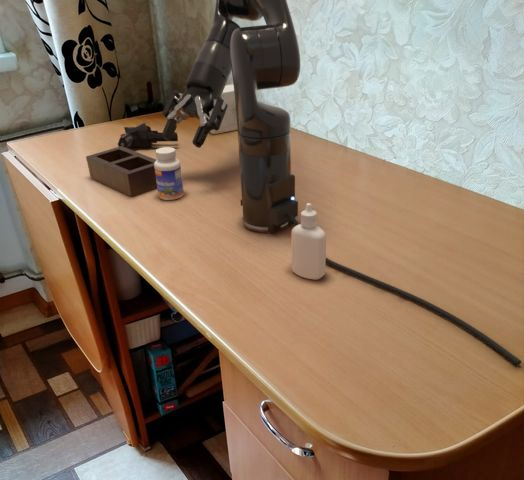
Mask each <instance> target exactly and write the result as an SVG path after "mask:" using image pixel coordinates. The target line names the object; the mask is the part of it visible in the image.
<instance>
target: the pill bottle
mask: <svg viewBox="0 0 524 480" xmlns="http://www.w3.org/2000/svg"><path fill="white" fill-rule="evenodd" d="M176 156H177V153H176V149H175V148H174V147H171V146H164V147H163V146H162V147H159V148H157V149H156V150H155V157H156V158H155V159H156V161H155V163H154V169H155V175H156V182H157V188H156V190H157V195H158V197H159V199H161V200H163V201H164V200H165V201H174V200H178V199H180V198H182V197H183V196H184V184H183V175H182V167H181V162H180V159H178V158H176Z"/></svg>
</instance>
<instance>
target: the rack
mask: <svg viewBox="0 0 524 480" xmlns="http://www.w3.org/2000/svg"><path fill="white" fill-rule="evenodd" d="M85 159H86V163H87V168H88V171H89V172H88V173H89V177H90V179H92V180H95V181H96V182H99V183H101V184H103V185H105V186H107V187H109V188H111V189H114V190H115V191H118V192H120V193H122V194H124V195H126V196H128V197H131V198H133V197H137V196H139V195H142V194H145V193H147V192H150V191H152V190H157V182H156V175H155V169H154V163H155V161H156V160H157V158H154V157H151V156H149V155H146V154H142V153H140V152H138V151H135V150H133V149H130V148H125V147H122V146H120V147H119V146H116V147H113V148H110V149H106V150H103V151H100V152H96V153H93V154H89V155H87V156H85Z"/></svg>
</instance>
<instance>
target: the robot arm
mask: <svg viewBox="0 0 524 480" xmlns="http://www.w3.org/2000/svg"><path fill="white" fill-rule="evenodd" d="M212 18H213V19H212V24H211V27H210V30H209V32H208V34H207V37H206V39H205V41H204V43H203V45H202V47H201V49H200V50H199V52H198V54H197V56H196V59H195V61H194V63H193V66H192V68H191V70H190V73H189V74H188V77H187V79H186V89H185V91H184V92H183V93H181V92H179V91H178V90H177V89H173V90H172V92H171V94H170V95H169V98H168V100H167V102H166V103H165V106H164V107H163V108H164V109H163V111H162V116H163V117H164V118H165V119H166V120H167V121H166V123H165V126H164V128H163V130H162V133H163V137H164V138H165V139H166V140H167V141H166V142H172V141H171V139H172V137H173V135H174V132H176V130H177V128H178V124H180V123H181V122H182V121H186V120H187V119H189V118H190V119H191V118H192V119H194V118H196V119H198V120H199V122H200V125H198V127H197V129H196V132H195V134H194V136H193V139H192V145H193V146H195V147H196V148H198V149H201V148H202V146H203V145H204V144H205V142H206V139H207V137H208V135H209V133H210V131H211V130H214V129H215V130H216V131H217V130H219V128H220V126H221V123H222V120H223V118H224V115H225V112H226V110H227V107H228V105H227V104H226V102H225V101H224V100H223V99H222V98H221V95H222V92H223V90H224V88H225V85H227V83H228V81H229V79H230V76H231V75H232V84H234V94H235V105H236V116H237V129H238V130H237V141H238V142H237V143H238V144H237V145H238V155H239V156H238V159H239V160H238V161H239V171H240V172H239V173H240V190H241V199H240V207H242V224H243V227H245V228H246V229H247V230H250V231H253V232H257V233H269V234H273V235H274V234H276V233H278V232H280V231H283V230H285V229H287V228H289V227H291V226H293V225H294V227H295V226H297V225H299V224H300V223H299V221H298V220H297V219H296V218H297V217H298V216H299V201H297V200H296V176H295V174H293V173H292V165H291V164H292V161H291V159H292V158H291V157H292V156H291V151H292V150H291V149H292V148H291V147H292V146H291V144H292V142H291V141H292V140H291V138H292V137H291V116H290V113H289V112H288V111H287V110H285V109H284V108H282V107H279V106H275V105H271V104H268V103H265V102H263V101H261V100H259V99H258V96H257V91H259V90H260V91H261V90H269V89H278V88H286V87H290V86H293V85H294V84H296V83H297V82H298V80H299V79H300V74H301V53H300V45H299V41H298V37H297V33H296V30H295V25H294V22H293V18H292V14H291V11H290V8H289V4H288V1H287V0H215V6H214V12H213V17H212ZM234 18H235V19H239V20H240V19H241V20H245V21H251V22H256V21H257V22H258V21H259V20H261V19H262V18H263V19H264V23H265V24H262V25H252V26H242V27H241V26H240V25H239V24H238V23H237V22H235V21H233V19H234ZM213 108H214V109H213ZM212 109H213V111H212V114H211V115H210V111H211V110H212ZM176 116H177V117H176ZM216 118H217V119H216ZM215 120H216V122H215ZM326 265H329V266H331V267H333V268H335V269H337V270H340V271H342V272H345V273H347V274H350V275H352V276H354V277H357V278H359V279H361V280H364V281H367V282H368V283H371V284H374V285H376V286H378V287H381V288H383V289H385V290H388V291H390V292H393V293H395V294H397V295H400V296H402V297H403V298H406V299H409V300H411V301H413V302H415V303H417V304H419V305H422V306H423V307H426V308H428V309H430V310H431V311H434V312H435V313H437V314H439V315H441V316H442V317H444V318H446V319H448V320H450V321H451V322H453V323H455V324H457V325H458V326H459V327H462V328H463V329H465V330H466V331H468V332H470V333H471V334H473V335H474V336H476V337H477V338H479V339H480V340H482V341H483V342H485V343H486V344H488V345H489V346H490V347H492V348H493V349H494V350H496V351H497V352H498V353H500V354H501V355H503V356H504V357H505V358H507V360H509V361H510V362H512V363H513V364H514V365H516V366H519V365H521V364H522V360H521V359H519V358H518V357H516V356H515V355H514V354H512V353H511V352H510V351H508V350H507V349H506V348H504V347H503V346H501V345H500V344H499V343H497V342H496V341H495V340H493V339H492V338H490V337H489V336H488V335H486V334H485V333H483V332H481V331H480V330H478V329H477V328H475V327H474V326H472V325H470V324H469V323H467V322H466V321H464V320H463V319H461V318H459V317H457V316H456V315H454V314H453V313H450V312H448V311H446V310H444V309H443V308H441V307H439V306H437V305H435V304H433V303H431V302H429V301H427V300H425V299H423V298H420V297H419V296H417V295H414V294H413V293H412V294H411V293H409V292H407V291H405V290H403V289H400V288H398V287H396V286H394V285H391V284H389V283H386V282H383V281H381V280H379V279H377V278H374V277H371V276H368V275H366V274H364V273H362V272H359V271H357V270H355V269H352V268H350V267H347V266H344V265H342V264H340V263H338V262H335V261H333V260H331V259H329V258H328V257H326Z"/></svg>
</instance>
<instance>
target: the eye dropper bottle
mask: <svg viewBox="0 0 524 480" xmlns="http://www.w3.org/2000/svg"><path fill="white" fill-rule="evenodd" d="M317 221H318V212H317V211H316V210H314V209H313V206H312V203H311V202H310V203H309V202H308V203H306V204H305V209H304V210H302V211H301V212H300V223H299V225H297V226H295V225H294V227H292V229H291V244H290V245H291V246H290V247H291V252H290V253H291V271H292V272H293V273H294V274H295V275H297V276H299V277H301V278H304V279H309V280H315V281H317V280H320V279H321V278H323V277H324V276H325V275H326V265H327V263H326V258H327V235H326V232H325V230H323V229H322V228H321V227H320V226H319V225H318V222H317Z"/></svg>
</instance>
